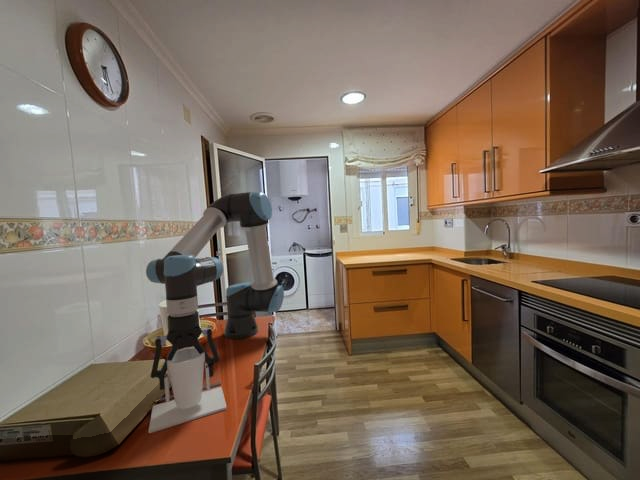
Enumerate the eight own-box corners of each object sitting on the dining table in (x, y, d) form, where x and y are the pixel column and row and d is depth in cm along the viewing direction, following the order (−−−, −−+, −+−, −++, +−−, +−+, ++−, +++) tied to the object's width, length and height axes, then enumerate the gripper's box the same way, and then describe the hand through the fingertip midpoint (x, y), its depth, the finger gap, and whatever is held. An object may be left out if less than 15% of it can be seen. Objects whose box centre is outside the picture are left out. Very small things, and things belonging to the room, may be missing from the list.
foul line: (220, 382, 88) (220, 381, 88) (220, 384, 87) (220, 383, 87) (154, 400, 80) (154, 399, 80) (154, 403, 79) (153, 402, 79)
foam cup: (181, 391, 80) (178, 347, 80) (213, 390, 80) (210, 346, 80) (162, 413, 71) (158, 363, 70) (197, 412, 71) (194, 362, 70)
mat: (221, 388, 84) (221, 386, 84) (226, 409, 75) (226, 406, 75) (153, 407, 77) (153, 405, 76) (148, 433, 67) (148, 431, 67)
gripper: (132, 324, 66) (139, 415, 67) (227, 309, 76) (232, 388, 77) (136, 316, 73) (143, 399, 74) (224, 302, 83) (228, 376, 84)
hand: (188, 393), depth 75 cm, fingers closed on foam cup, 9 cm apart
